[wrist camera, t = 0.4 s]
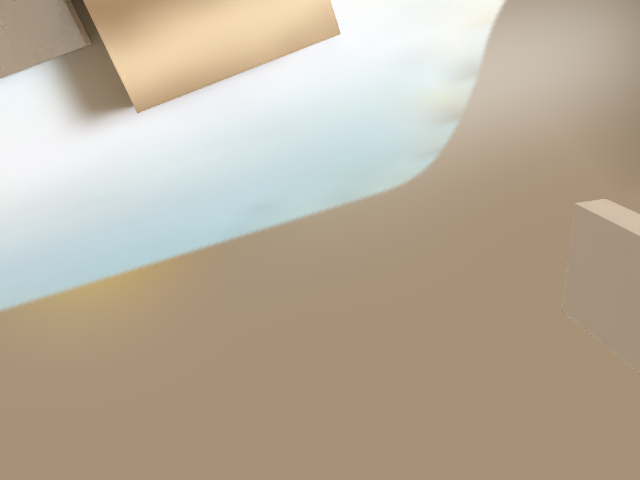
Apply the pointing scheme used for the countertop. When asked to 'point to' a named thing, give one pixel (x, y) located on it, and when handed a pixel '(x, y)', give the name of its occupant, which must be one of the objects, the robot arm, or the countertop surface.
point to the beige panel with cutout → (37, 32)
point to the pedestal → (202, 40)
